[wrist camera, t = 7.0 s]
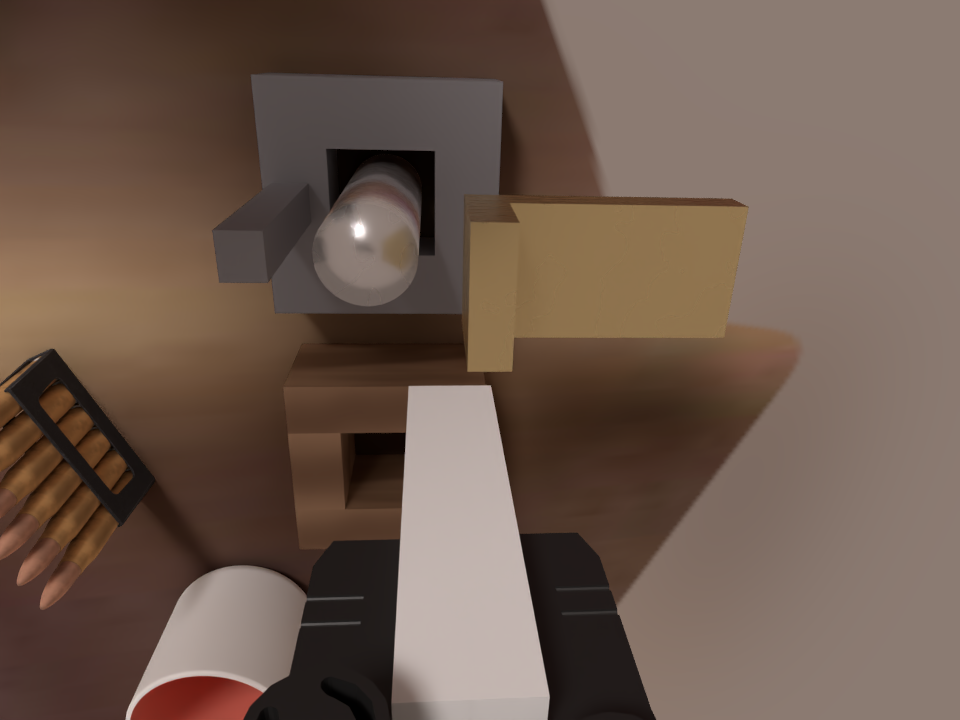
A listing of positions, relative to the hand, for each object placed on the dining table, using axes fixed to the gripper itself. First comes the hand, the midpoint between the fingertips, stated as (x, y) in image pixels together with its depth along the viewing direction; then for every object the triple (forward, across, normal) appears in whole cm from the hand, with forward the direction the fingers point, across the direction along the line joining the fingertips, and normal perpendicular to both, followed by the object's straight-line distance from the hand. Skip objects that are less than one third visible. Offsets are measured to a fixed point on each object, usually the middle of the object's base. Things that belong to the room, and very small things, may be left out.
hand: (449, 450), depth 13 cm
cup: (+29, -14, -32) cm, 45 cm away
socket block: (+28, -3, 0) cm, 29 cm away
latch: (+14, +6, 0) cm, 15 cm away
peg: (+28, -3, 0) cm, 29 cm away
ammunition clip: (+29, -22, -16) cm, 39 cm away
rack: (+28, -3, -16) cm, 32 cm away
